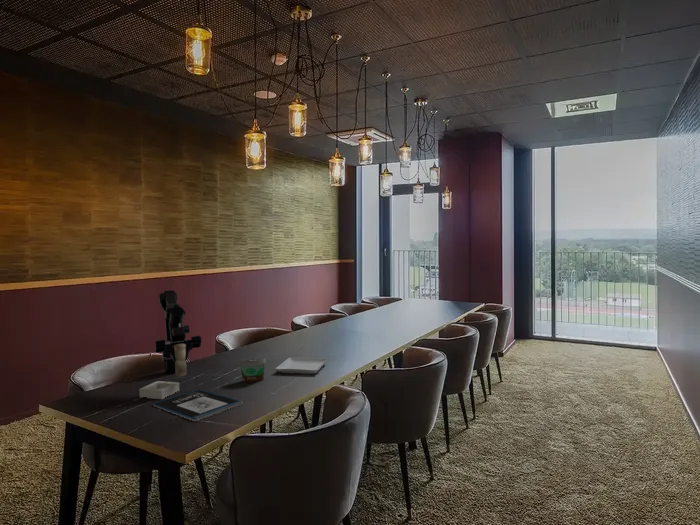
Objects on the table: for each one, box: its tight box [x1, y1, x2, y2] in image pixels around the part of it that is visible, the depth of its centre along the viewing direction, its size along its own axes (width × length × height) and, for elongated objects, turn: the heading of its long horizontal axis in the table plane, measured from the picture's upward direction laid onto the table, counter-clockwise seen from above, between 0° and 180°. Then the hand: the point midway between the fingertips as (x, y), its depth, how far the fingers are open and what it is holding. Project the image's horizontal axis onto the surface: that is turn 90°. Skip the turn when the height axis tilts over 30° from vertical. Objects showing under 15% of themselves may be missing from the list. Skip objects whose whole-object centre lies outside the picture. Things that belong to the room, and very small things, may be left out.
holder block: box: [138, 380, 180, 400], centre depth 194 cm, size 11×11×4 cm
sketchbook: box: [151, 388, 244, 423], centre depth 180 cm, size 22×30×2 cm
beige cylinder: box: [174, 344, 187, 377], centre depth 197 cm, size 4×4×13 cm
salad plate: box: [275, 356, 329, 375], centre depth 227 cm, size 21×21×3 cm
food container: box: [238, 357, 267, 384], centre depth 208 cm, size 12×6×10 cm, turn 105°
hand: (180, 360), depth 196 cm, fingers closed on beige cylinder, 4 cm apart
